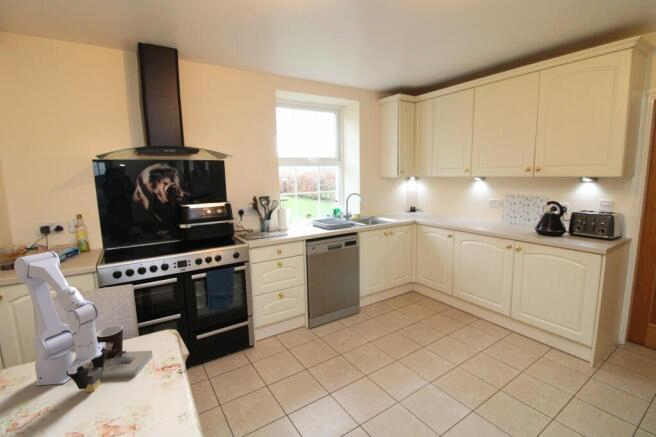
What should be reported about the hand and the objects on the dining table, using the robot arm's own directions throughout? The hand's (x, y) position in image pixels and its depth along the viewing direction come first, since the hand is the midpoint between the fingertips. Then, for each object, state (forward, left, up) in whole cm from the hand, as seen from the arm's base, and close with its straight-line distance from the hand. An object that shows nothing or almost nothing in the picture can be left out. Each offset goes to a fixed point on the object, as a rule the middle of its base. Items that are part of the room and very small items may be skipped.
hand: (91, 380), depth 101 cm
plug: (0, 0, -3) cm, 3 cm away
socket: (+5, +11, -3) cm, 12 cm away
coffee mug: (-7, +20, -3) cm, 21 cm away
